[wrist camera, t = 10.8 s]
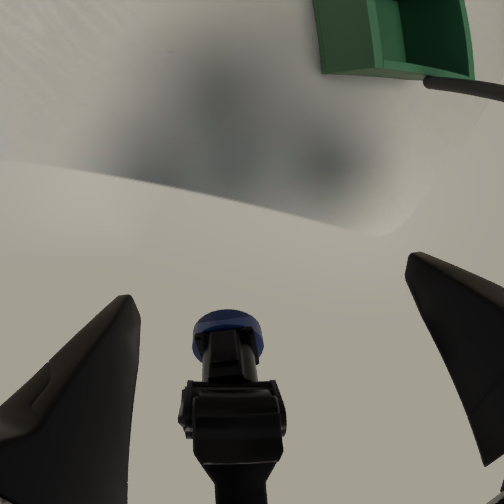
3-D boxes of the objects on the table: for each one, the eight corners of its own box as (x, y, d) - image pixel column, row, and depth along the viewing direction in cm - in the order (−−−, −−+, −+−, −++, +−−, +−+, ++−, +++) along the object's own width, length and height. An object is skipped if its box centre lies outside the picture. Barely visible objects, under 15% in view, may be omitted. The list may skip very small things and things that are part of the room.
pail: (308, -21, 13) (395, -8, 13) (323, 83, 17) (407, 88, 17) (420, -118, 1) (535, -41, 1) (479, 92, 5) (565, 124, 5)
